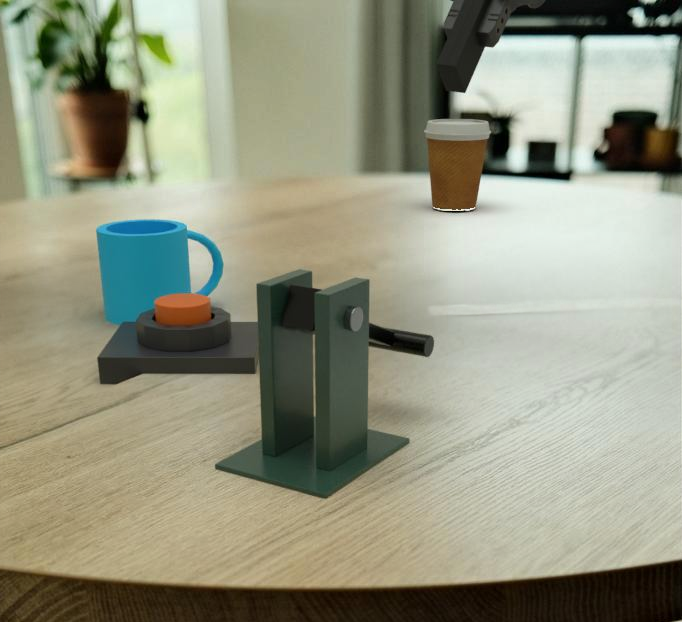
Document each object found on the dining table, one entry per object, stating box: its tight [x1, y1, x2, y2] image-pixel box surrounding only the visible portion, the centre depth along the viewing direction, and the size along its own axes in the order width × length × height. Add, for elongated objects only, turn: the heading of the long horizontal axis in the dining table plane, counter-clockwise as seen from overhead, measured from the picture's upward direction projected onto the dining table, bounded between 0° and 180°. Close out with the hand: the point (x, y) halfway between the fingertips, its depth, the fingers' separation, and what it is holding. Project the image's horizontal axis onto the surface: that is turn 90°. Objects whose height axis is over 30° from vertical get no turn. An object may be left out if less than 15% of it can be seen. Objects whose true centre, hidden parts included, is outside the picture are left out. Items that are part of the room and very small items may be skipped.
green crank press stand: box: [214, 268, 410, 499], centre depth 61 cm, size 10×8×12 cm
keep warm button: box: [154, 292, 212, 325], centre depth 81 cm, size 4×4×2 cm
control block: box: [96, 306, 259, 385], centre depth 82 cm, size 12×10×4 cm
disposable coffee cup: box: [423, 118, 492, 210], centre depth 147 cm, size 10×10×12 cm
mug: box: [95, 218, 224, 326], centre depth 95 cm, size 12×8×8 cm
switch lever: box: [282, 285, 435, 358], centre depth 64 cm, size 12×6×2 cm, turn 148°
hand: (450, 78), depth 70 cm, fingers closed
